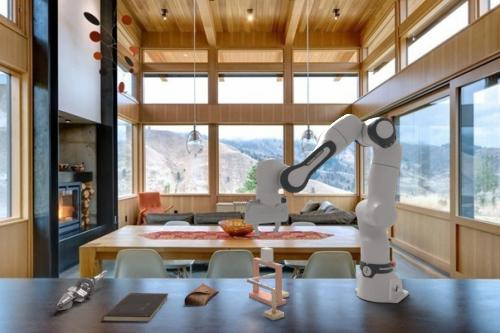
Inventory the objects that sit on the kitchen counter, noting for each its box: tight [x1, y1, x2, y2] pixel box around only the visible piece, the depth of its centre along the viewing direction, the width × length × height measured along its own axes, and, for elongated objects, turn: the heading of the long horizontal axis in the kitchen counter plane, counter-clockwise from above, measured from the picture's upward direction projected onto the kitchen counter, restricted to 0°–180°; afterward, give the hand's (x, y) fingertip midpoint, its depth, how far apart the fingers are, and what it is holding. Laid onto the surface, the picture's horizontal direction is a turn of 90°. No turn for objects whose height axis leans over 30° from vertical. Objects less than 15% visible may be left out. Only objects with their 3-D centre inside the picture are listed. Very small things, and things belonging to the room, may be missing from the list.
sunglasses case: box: [184, 282, 220, 307], centre depth 139 cm, size 18×7×7 cm
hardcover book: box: [102, 292, 169, 322], centre depth 128 cm, size 16×23×2 cm
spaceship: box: [55, 269, 109, 311], centre depth 139 cm, size 8×35×8 cm
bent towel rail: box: [246, 272, 290, 321], centre depth 131 cm, size 21×19×10 cm
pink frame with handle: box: [248, 246, 287, 308], centre depth 137 cm, size 6×15×20 cm, turn 38°
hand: (266, 234), depth 138 cm, fingers open, 8 cm apart
